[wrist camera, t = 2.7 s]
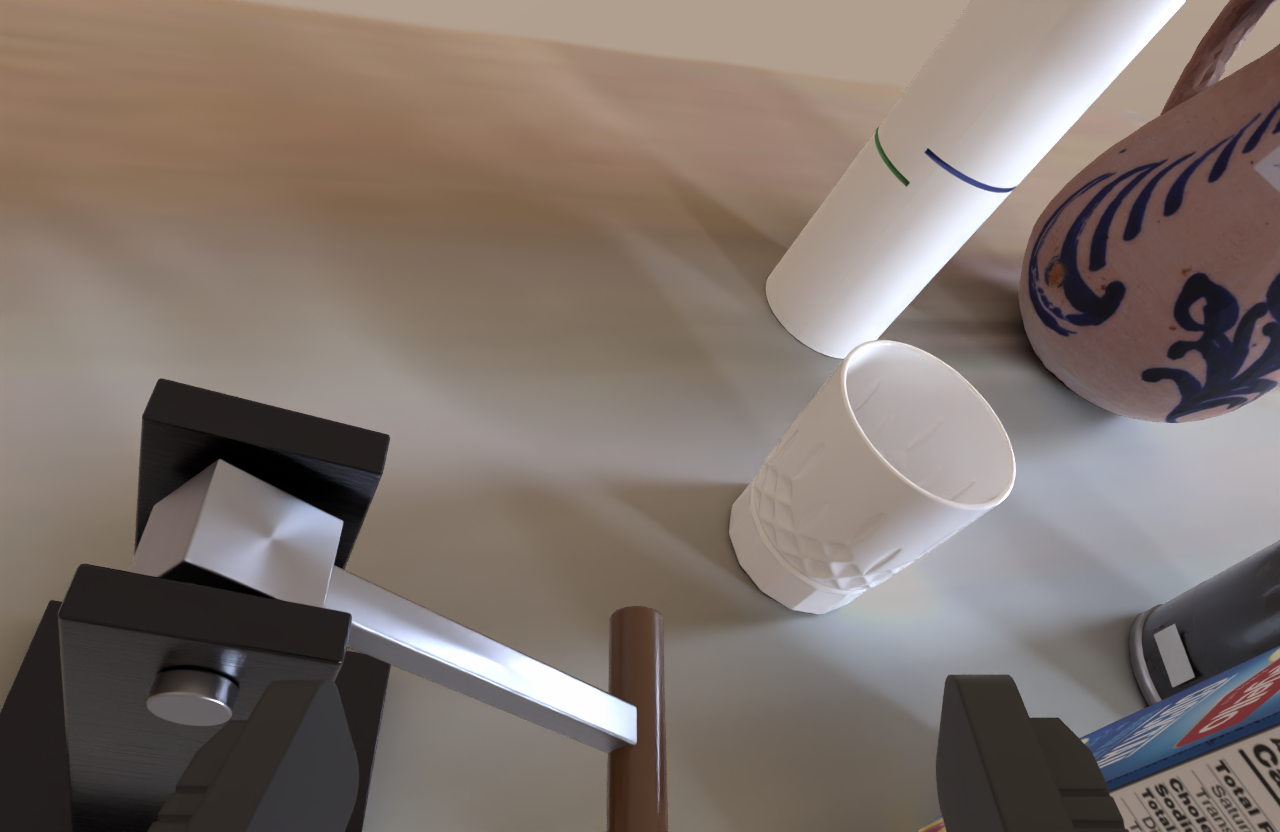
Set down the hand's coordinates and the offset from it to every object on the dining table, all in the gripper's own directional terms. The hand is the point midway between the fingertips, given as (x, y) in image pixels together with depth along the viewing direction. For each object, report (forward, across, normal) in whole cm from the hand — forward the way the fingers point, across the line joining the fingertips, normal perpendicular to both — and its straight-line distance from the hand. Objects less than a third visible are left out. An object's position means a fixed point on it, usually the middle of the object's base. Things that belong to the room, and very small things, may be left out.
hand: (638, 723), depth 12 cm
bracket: (+9, -14, -12) cm, 21 cm away
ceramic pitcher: (+53, +25, -18) cm, 61 cm away
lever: (+7, -6, -6) cm, 11 cm away
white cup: (+26, +4, -16) cm, 31 cm away
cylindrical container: (+43, +7, -11) cm, 45 cm away
